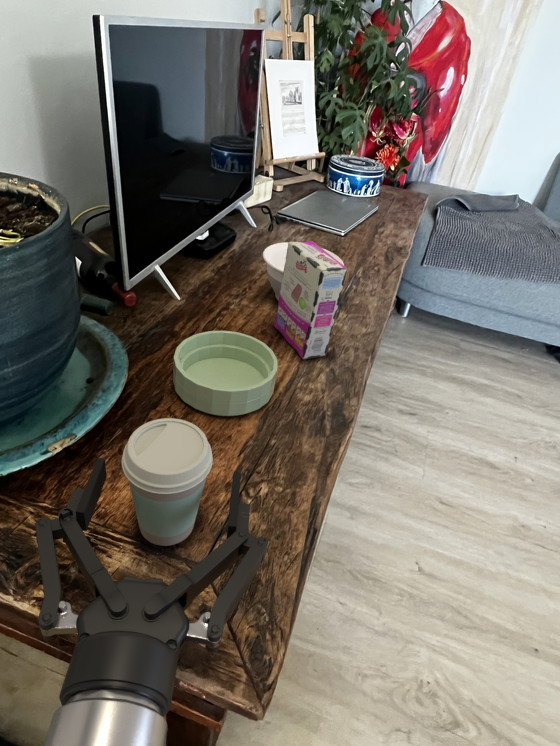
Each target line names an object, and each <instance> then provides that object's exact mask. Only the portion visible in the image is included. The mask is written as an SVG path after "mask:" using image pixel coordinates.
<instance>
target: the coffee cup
mask: <svg viewBox="0 0 560 746" xmlns="http://www.w3.org/2000/svg"><path fill="white" fill-rule="evenodd" d="M212 451H213V450H212V447H211V445H210V443H209V441H208V437H207V435H206V434H205V432H204V431H202V429H201V428H199V427H198V426H197V425H195V424H194V423H192V422H189V421H187V420H184V419H181V418H174V417H172V418H171V417H165V418H157V419H154V420H150V421H147V422H145V423H143V424H141V426H139V427H137V428H136V429H135V430H134V431H133V432H132V434H131V435H130V437H129V439H128V440H127V443H126V444H125V446H124V449H123V452H122V457H121V468H122V472H123V473H124V475H125V477H126V478H127V479H128V485H129V488H130V491H131V492H130V493H131V496H132V501H133V505H134V510H135V514H136V519H137V523H138V527H139V531H140V533H141V535H142V537H143V538H144V539H145V540H146V541H148V542H149V543H150V544H152V545H156V546H160V547H168V546H173V545H177V544H179V543H181V542H183V541H184V540H186V539H187V538H188V537H189V536H190V535H191V533H192V532H193V530H194V526H195V522H196V518H197V515H198V511H199V507H200V503H201V500H202V495H203V491H204V487H205V484H206V481H207V477H208V475H209V473H210V471H211V469H212V467H213V463H214V457H213V452H212Z"/></svg>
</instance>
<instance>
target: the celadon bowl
mask: <svg viewBox="0 0 560 746" xmlns="http://www.w3.org/2000/svg"><path fill="white" fill-rule="evenodd" d="M278 361H279V360H278V358H277V356H276V354H275V353H274V351H273V349H271V348H270V347H269V346H268V345H267V344H266V343H265V342H263V341H262V340H259V339H258V338H256V337H254V336H251V335H249V334H245V333H241V332H239V331H230V330H208V331H203V332H199V333H195V334H193V335H191V336H189V337H187V338H184V339H183V340H182V341H181V342H180V343H179V345H178V346H177V347H176V348H175V352H174V355H173V365H172V366H173V367H172V368H173V369H172V370H173V372H172V373H173V374H172V383H173V387H174V391H175V393H176V394H177V396H179V398H180V399H181V400H182V401H183V402H184V403H186V404H187V405H188V406H190V407H192V408H194V409H195V410H198V411H200V412H203V413H205V414H210V415H213V416H219V417H235V416H242V415H245V414H249V413H252V412H255V411H257V410H260V409H261V408H262V407H263V406H265V405H266V404H268V403H269V401H270V399H271V398H272V397H273V394H274V391H275V386H276V379H277V374H278V367H279V365H278Z"/></svg>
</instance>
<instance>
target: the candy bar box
mask: <svg viewBox="0 0 560 746" xmlns="http://www.w3.org/2000/svg"><path fill="white" fill-rule="evenodd" d="M322 248H323V247H321V246H319V245H318V244H317V243H316V242H315V241H314V240H297V241H288V249H287V255H286V260H285V266H284V272H283V278H282V283H281V289H280V296H279V301H278V300H277V301H278V302H277V307H276V314H275V318H274V319H275V320H274V328H275V329H276V331H277V332H278V333H279V334H280V335H281V336H282V337H283V338H284V340H285V342H287V343H288V344H289V345H290V346H291V348H292V349H293V350H294V351H295V352H296V353H297V354H298V355H299V357H300V358H301V359H302V360H308V359H315V358H321V357H325V356H326V355H327V352H328V347H329V344H330V339H331V336H332V333H333V328H334V323H335V320H336V317H337V311H338V308H339V304H340V300H341V296H342V292H343V288H344V284H345V281H346V278H347V277H346V276H347V273H348V272H347V271H348V267H347V266H345V264H344V265H342V264H341V263H340V262H339V261H337V260H336V259H335V258H333V257H332V256H331V255H330V254H328V253H327V252H326V251H324V250H323V249H324V248H323V249H322Z"/></svg>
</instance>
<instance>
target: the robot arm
mask: <svg viewBox="0 0 560 746" xmlns="http://www.w3.org/2000/svg"><path fill="white" fill-rule="evenodd" d="M107 476H108V475H107V464H106V459H105V458H101V457H97V458H96V460H95V462H94V464H93V467H92V469H91V472H90V475H89V477H88V480H87V482H86V484H85V487H84V488H80V487H76V488H75V489H74V490H72V493H71V495H70V498H69V500H68V503H67V505H66V507H63V508H61V509H59V510H58V513H57V516H58V517H57V518H51V519H50V518H49V517H47V516H42V517H39V518H38V519H37V520H36V521H35V523H34V527H35V535H36V542H37V543H36V544H37V551H38V558H39V565H40V573H41V574H40V575H41V581H42V589H43V595H44V596H43V599H42V602H41V607H40V611H39V613H38V614H39V615H38V618H37V622H38V625H39V629H40V633H41V637H42V639H43V640H44V641H46V642H53V641H54V640H56V639H57V638H58V637H59V635H75V634H77V638H76V643H75V645H74V648H73V651H72V655H71V658H70V661H69V664H68V667H67V671H66V673H65V675H64V676H65V677H64V679H63V683H62V686H61V689H60V692H59V697H58V698H59V701H60V704H61V706H60V707H58V708H57V709H56V710H55V711H54V712H53V713H52V717H51V720H50V724H49V725H48V726H49V727H48V730H47V733H46V736H45V739H44V742H43V746H166V739H167V733H168V728H169V727H168V722H167V720H166V719H165V716H166V715H168V713H169V712H170V710H171V708H172V702H173V694H174V690H175V689H174V688H175V682H176V676H177V669H178V663H179V657H180V653H181V650H182V648H183V647H184V645H185V644H186V642H190V643H195V644H200V645H204V647H205V650H207V652H208V653H216V652H218V651H219V650H220V649H221V644H222V641H223V636H224V635H223V634H224V630H225V626H226V624H227V622H228V621H229V619H230V617H231V616H232V614H233V612H234V611H235V609H236V608H237V606H238V604H239V602H240V601H241V599H242V597H243V596H244V595H245V593H246V591H247V589H248V587H249V586H250V584H251V583H252V582H253V580H254V578H255V576H256V574H257V573H258V571H259V570H260V568H261V566H262V565H263V563H264V561H265V559H266V554H267V550H268V546H269V541H268V538H266V537H265V536H258V537H256V536H254V535H252V534H251V533H250V526H249V525H250V512H251V511H250V510H251V508H250V506H249V503H241V502H240V503H239V501H240V493H241V491H240V489H241V479H242V472H241V471H240V472H238V471H233V475H232V483H231V488H230V499H229V509H228V519H227V527H226V537H225V540H223V542H221V543H220V544H219V545H218V546H217V547H215V548H214V549H213V550H212V551H211V552H209V554H207V555H206V556H205V557H204V558H202V559H201V560H200V561H198V562H197V564H195V565H194V566H193V567H192V568H191V569H190V570H188V571H187V572H186V573H182V574H180V575H179V576H178V577H176V578H175V579H174V580H173V581H172V582H170V583H169V584H168V583H166V582H164V579H163V578H156V577H155V578H153V577H151V578H146V579H143V578H139V577H136V576H132V575H131V576H130V575H124V576H123V578H121V579H118V580H116V581H114V579H113V578H112V576H111V573H110V572H109V571H108V568H106V567H105V566H104V565H103V563H102V561H101V560H100V558H99V556H98V554H97V553H96V552H95V550H94V548H93V546H92V544H91V543H90V541H89V538H88V537H87V536H86V534H85V532H87V531H88V528H89V526H90V524H91V520H92V518H93V515H94V512H95V510H96V507H97V504H98V502H99V499H100V496H101V493H102V491H103V488H104V485H105V483H106V480H107ZM62 539H63V541H64V543H65V545H66V548H67V549H68V551H69V552H70V554H71V556H72V558H73V560H74V562H75V564H76V565H77V567H78V569H79V571H80V572H81V575H82V576H83V578H84V580H85V582H86V584H87V585H88V587H89V589H90V591H91V593H92V596H93V600H92V601H91V602H90V603H88V604H87V605H86V606H85V607H84V608H82V609H81V611H80V612H79V613H78V614H75V613H74V612H73V609H72V605H71V603H70V602H68V601H65V600H64V594H63V586H62V582H61V575H60V568H59V562H58V556H57V549H56V543H55V541H58V540H62ZM241 557H242V560H240V562H239V564H238V566H237V567H236V568H235V570H234V571H233V572H232V574H231V576H230V577H229V579H228V581H227V582H226V583H225V585H224V586H223V588H222V590H221V591H220V593H219V594H218V596H217V597H216V599H215V601H214V603H213V605H212V608H211V611H205V612H203V613H202V614H201V615H200V617H199V618H198V620H197V621H195V622H190V620H189V617H188V616H187V614H186V613H185V611H186V610H187V609H189V607H190V606H191V605H192V603H193V602H194V600H196V598H197V597H198V596H200V594H201V593H203V592H204V591H205V590H206V589H207V588H208V587H210V586H211V585H212V584H213V583H214V582H215V581H216V580H217V579H218V578H220V577H221V575H222V574H224V573H225V572H226V571H227V570H228V569H229V568H230V567H231V566H232V565H234V564H235V563H236V562H237V561H238V560H239V559H240V558H241Z"/></svg>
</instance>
